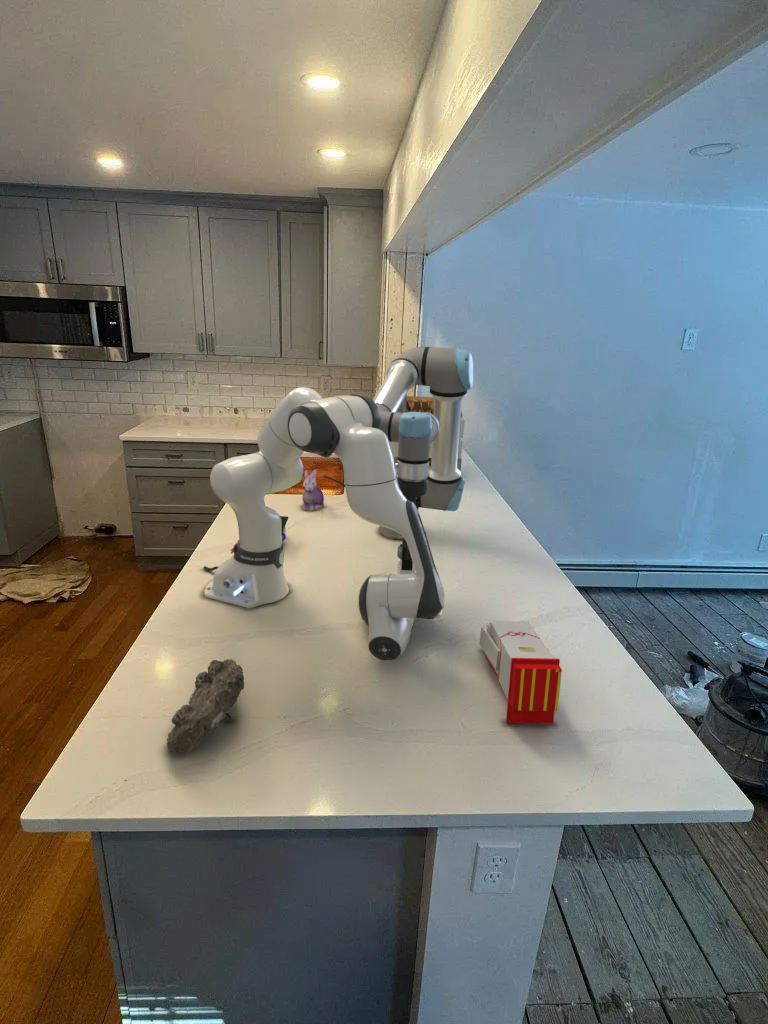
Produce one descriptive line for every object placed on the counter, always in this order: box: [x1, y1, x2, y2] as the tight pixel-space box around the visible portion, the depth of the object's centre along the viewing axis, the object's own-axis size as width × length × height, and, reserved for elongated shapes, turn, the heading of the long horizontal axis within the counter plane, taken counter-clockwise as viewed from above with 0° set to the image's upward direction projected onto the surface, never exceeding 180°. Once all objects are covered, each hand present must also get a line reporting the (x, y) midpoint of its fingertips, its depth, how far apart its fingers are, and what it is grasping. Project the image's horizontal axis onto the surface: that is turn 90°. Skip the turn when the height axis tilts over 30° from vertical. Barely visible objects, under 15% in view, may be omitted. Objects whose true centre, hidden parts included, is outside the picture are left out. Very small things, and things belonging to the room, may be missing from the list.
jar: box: [396, 559, 416, 574], centre depth 146 cm, size 4×4×16 cm
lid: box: [396, 545, 403, 560], centre depth 144 cm, size 5×5×2 cm
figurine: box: [302, 469, 325, 511], centre depth 219 cm, size 9×10×15 cm
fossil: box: [166, 658, 245, 754], centre depth 106 cm, size 22×10×15 cm
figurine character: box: [279, 515, 289, 543], centre depth 186 cm, size 7×8×15 cm
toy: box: [478, 620, 563, 725], centre depth 121 cm, size 12×13×30 cm
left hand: (405, 587), depth 148 cm, fingers closed on jar, 4 cm apart
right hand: (406, 564), depth 145 cm, fingers closed on lid, 5 cm apart
